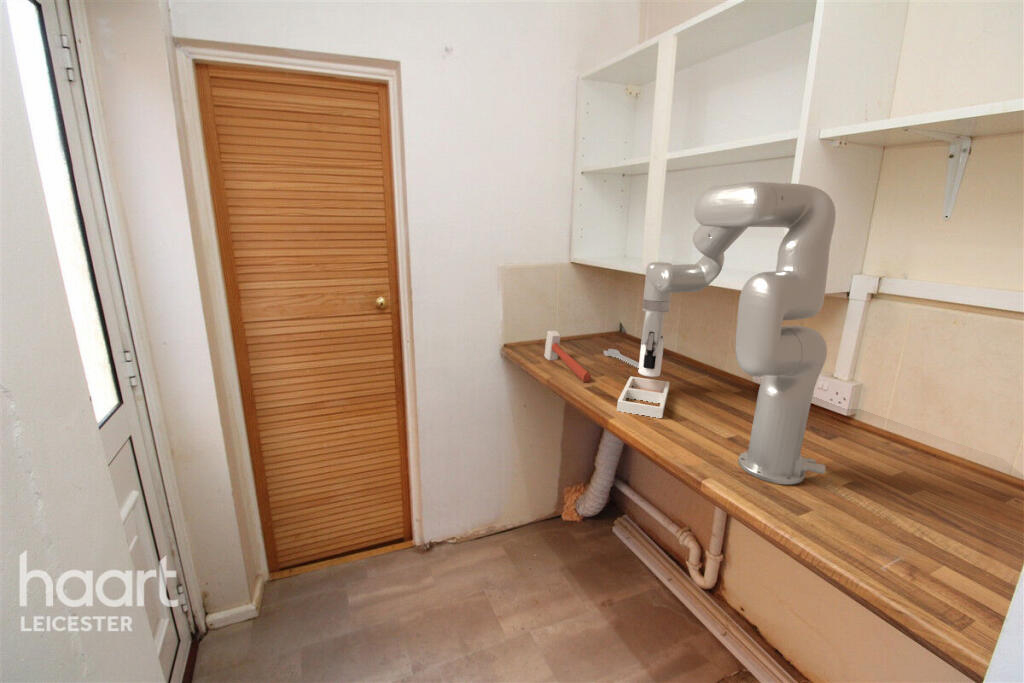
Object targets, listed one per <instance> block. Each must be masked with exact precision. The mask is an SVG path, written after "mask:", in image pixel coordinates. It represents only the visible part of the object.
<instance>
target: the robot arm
mask: <svg viewBox="0 0 1024 683" xmlns="http://www.w3.org/2000/svg"><path fill="white" fill-rule="evenodd" d="M693 211H694V212H693V213H694V218H695V220H696V221H697V223H699V224H700V225H699V227H698V228H697V229H696V230H695V231H694V232H693V235H692V242H693V245H694V247H695V248H696V249H697V251H699V253H701V255H703V256H702V257H701V258H700V259H699V260H698V261H697V262H696V263H694V264H692V263H689V264H672V263H669V262H664V261H663V262H660V261H657V262H656V261H654V262H648V264H647V265H646V270H645V277H644V278H645V280H644V289H643V290H644V291H643V300H642V308H641V309H642V311H644V312H645V313H644V318H643V326H642V335H641V341H640V345H641V344H642V345H643V344H645V343H646V341H647V343H646V351H645V355H644V365H643V367H644V368H649V369H654V368H655V360H656V356H655V352H656V346H658V345H659V342H660V339H661V336H663V330H664V323H665V322H664V321H665V314H667V313H670V308H671V299H672V294H673V293H674V294H676V293H696V292H697V293H698V292H700V291H702V290H704V289H705V288H707V287H708V286H709V285H711V283H713V281H714V280H715V279H717V277H718V276H719V275H720V273H721V271H722V269H723V267H724V263H725V252H726V251H727V250H728V248H730V247H731V246H732V245H733V243H735V242H736V240H737V239H738V238H739V237H741V235H742V234H743V233H745V231H746V230H747V229H748V228H749V227H750V228H786V229H788V231H787V233H786V234H785V235H784V237H783V238H782V241H781V242H780V245H779V247H778V250H777V261H776V268H775V271H764V272H758V273H757V274H755V275H753V276H751V277H750V278H749V279H748V280H747V281H746V283H744V285H743V286H742V289H741V291H740V295H739V299H738V307H737V318H736V319H737V320H736V330H735V331H736V332H735V343H734V344H735V348H734V351H735V352H734V353H735V358H736V362H737V364H738V366H739V368H740V369H741V370H742V372H744V373H745V374H747V375H749V376H751V377H756V378H762V380H761V383H760V384H759V389H758V392H757V398H756V403H755V404H756V405H755V409H754V413H753V414H754V415H753V421H752V427H751V433H750V438H749V442H748V449H747V451H744V452H742V453H740V454H739V456H738V460H737V462H738V465H739V466H740V468H741V469H742V470H743V471H745V472H746V473H747V474H749V475H750V476H752V477H755V478H757V479H759V480H762V481H765V482H767V483H772V484H777V485H788V486H789V485H796V484H799V483H800V484H801V483H802V482H803V481H804V480H805V478H806V477H805V476H806V473H807V472H813V473H815V474H820V475H825V472H826V465H825V464H822V463H817V462H816V459H815V458H809V457H807V458H806V457H804V456H803V455H802V454H801V452H802V447H803V443H804V438H805V432H806V428H807V424H808V423H807V422H808V418H809V413H810V408H811V403H812V399H813V396H814V395H813V394H814V392H815V388H816V385H817V382H818V380H819V377H820V374H821V372H822V370H823V369H824V365H825V363H826V360H827V355H828V347H827V346H828V345H827V342H826V340H825V338H824V337H823V335H822V334H821V333H820V332H819V331H817V330H816V329H814V328H812V327H808V326H803V325H787V326H786V325H785V326H784V325H783V322H784V321H796V320H805V319H809V318H812V317H814V316H816V315H817V314H818V313H820V311H821V310H822V309H823V305H824V303H825V302H824V300H825V296H826V287H827V286H826V285H827V277H828V269H829V262H830V261H829V260H830V259H829V257H830V248H831V243H832V238H833V233H834V230H835V229H834V228H835V224H836V216H837V215H836V214H837V213H836V212H837V211H836V207H835V203H834V202H833V199H832V198H831V197H830V195H829V194H828V193H827V192H825V191H824V190H822V189H820V188H818V187H816V186H812V185H808V184H801V183H793V182H792V183H791V182H790V183H789V182H771V181H770V182H768V181H748V182H740V183H731V184H727V185H724V184H723V185H716V186H715V185H714V186H711V187H709V188H707V189H706V190H704V191H703V192H702V193H701V194H700V195H699V197H698V198H697V200H696V202H695V205H694V209H693ZM653 343H655V345H653ZM652 347H653V348H654V350H653V348H652Z"/></svg>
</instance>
